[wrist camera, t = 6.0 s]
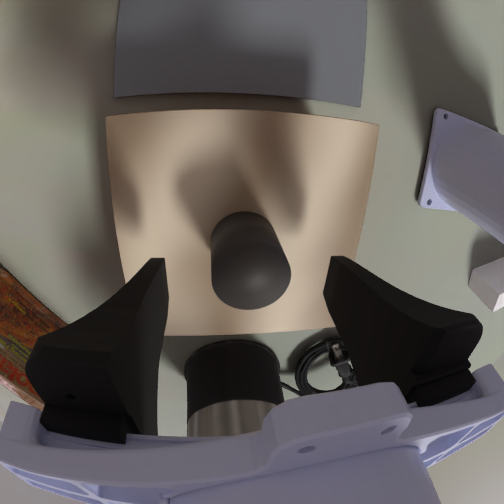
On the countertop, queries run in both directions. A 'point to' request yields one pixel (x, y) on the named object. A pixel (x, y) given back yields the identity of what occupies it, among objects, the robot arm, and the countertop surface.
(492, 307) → the napkin holder
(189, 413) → the milk frother
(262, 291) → the birch lid
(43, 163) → the countertop surface
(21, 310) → the tin
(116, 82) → the slate mat
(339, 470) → the robot arm
